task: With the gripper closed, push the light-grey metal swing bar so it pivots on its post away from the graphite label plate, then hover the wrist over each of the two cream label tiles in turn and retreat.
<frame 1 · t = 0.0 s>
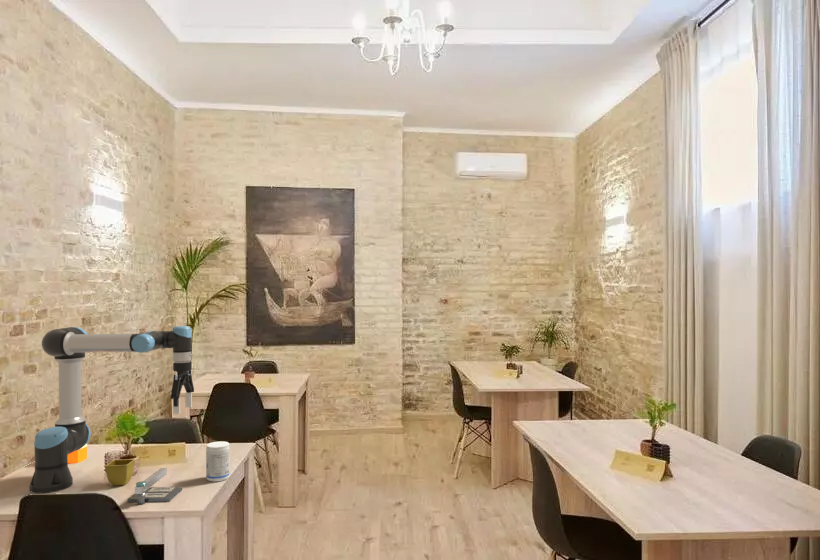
hand: (182, 410, 256), 28 cm above the table, fingers open, 13 cm apart
orange juice: (73, 461, 279), on the table
supplement tub: (218, 479, 251), on the table
label plate: (155, 495, 230), on the table
swing bar: (151, 479, 232), point 6 cm above the table, hinge at 0.0°
pivot post: (141, 503, 222), on the table
flower pot: (120, 484, 245), on the table
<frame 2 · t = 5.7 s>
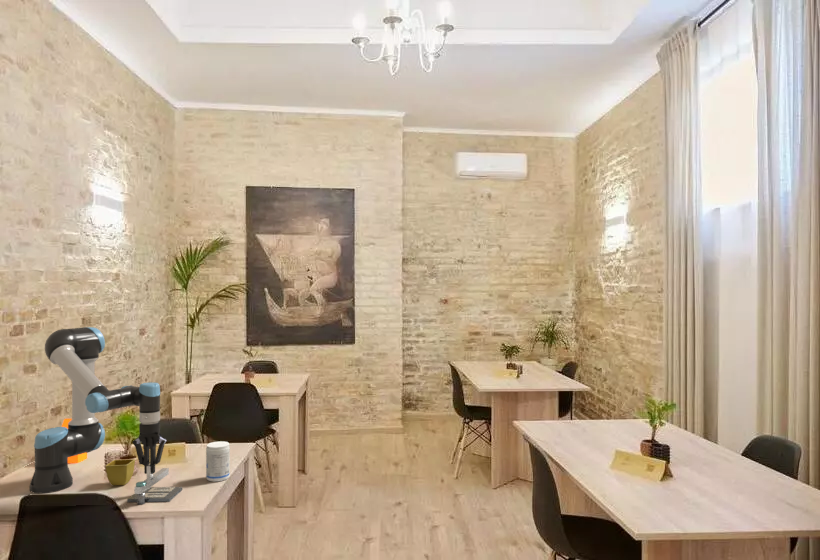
hand: (149, 481, 233), 5 cm above the table, fingers closed
swing bar: (152, 479, 232), point 6 cm above the table, hinge at 2.3°, touching gripper
everything else where it was.
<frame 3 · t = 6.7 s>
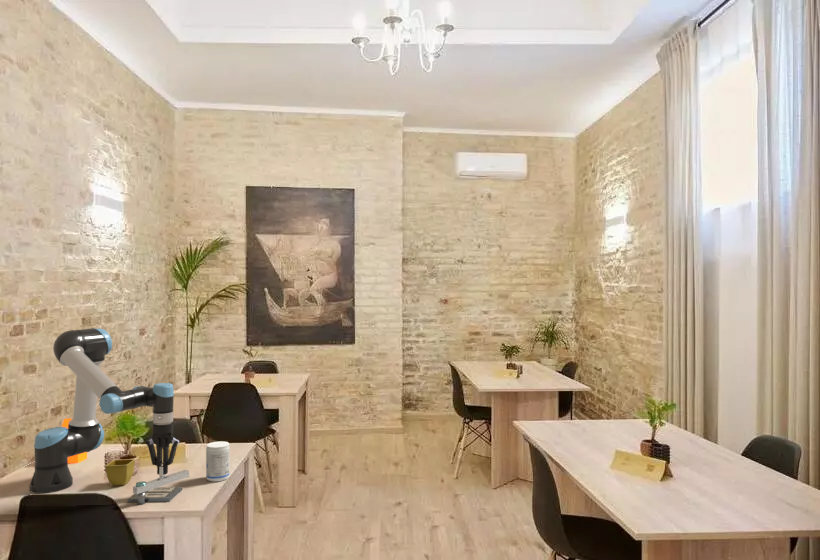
hand: (162, 482, 233), 4 cm above the table, fingers closed
swing bar: (162, 480, 230), point 6 cm above the table, hinge at 31.8°, touching gripper
everything else where it was.
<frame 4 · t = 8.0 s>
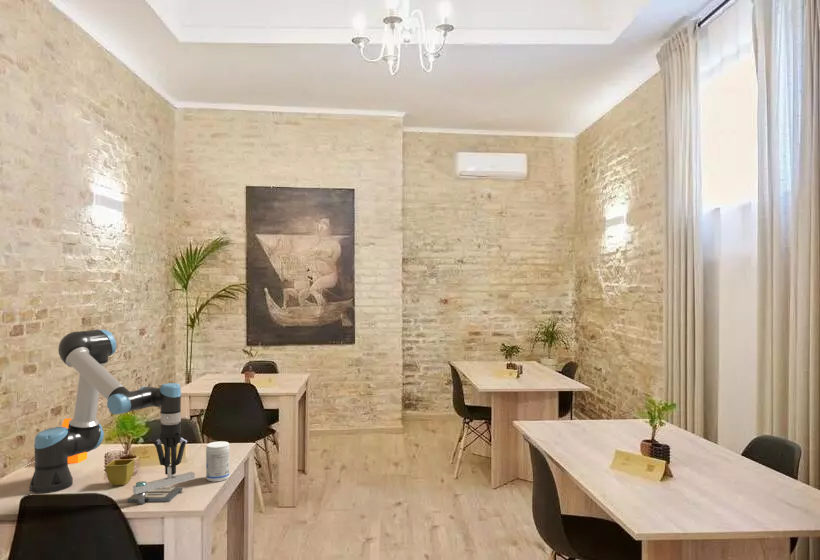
hand: (170, 482, 233), 4 cm above the table, fingers closed
swing bar: (164, 481, 229), point 6 cm above the table, hinge at 44.2°, touching gripper
everything else where it was.
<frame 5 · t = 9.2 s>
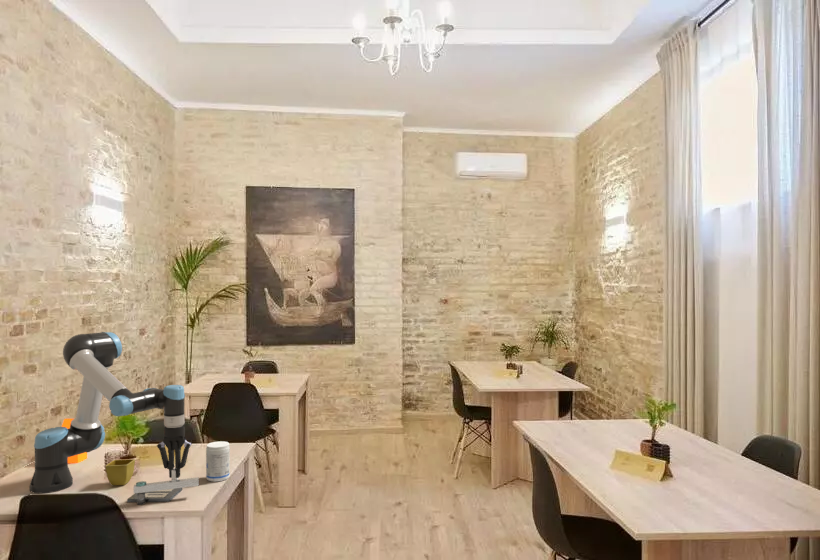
hand: (174, 485, 229), 4 cm above the table, fingers closed
swing bar: (166, 484, 226), point 6 cm above the table, hinge at 70.0°, touching gripper
everything else where it was.
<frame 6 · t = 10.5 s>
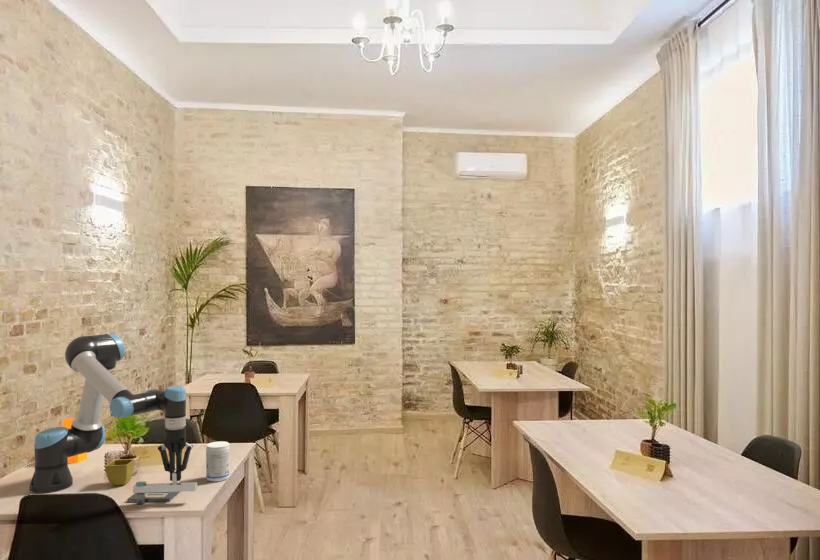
hand: (175, 488, 226), 4 cm above the table, fingers closed
swing bar: (165, 486, 223), point 6 cm above the table, hinge at 87.2°, touching gripper
everything else where it was.
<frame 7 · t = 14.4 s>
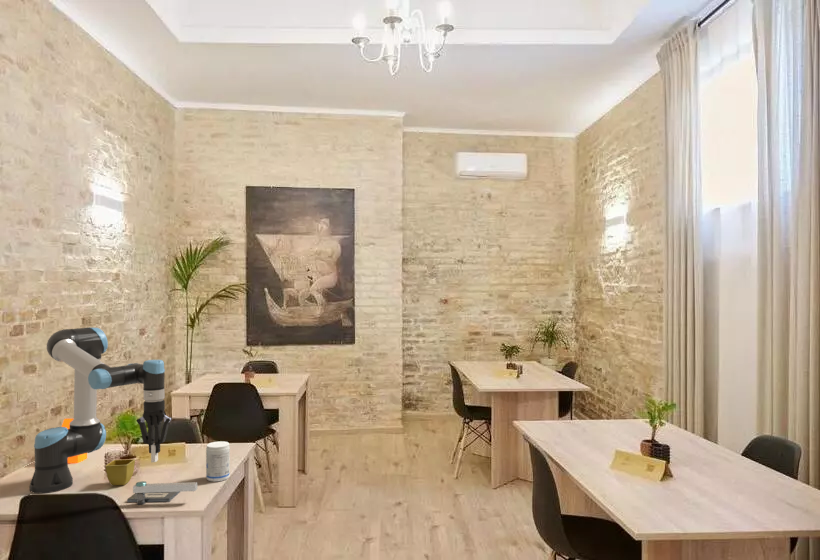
hand: (154, 461, 228), 14 cm above the table, fingers closed
swing bar: (165, 486, 223), point 6 cm above the table, hinge at 87.2°
everything else where it was.
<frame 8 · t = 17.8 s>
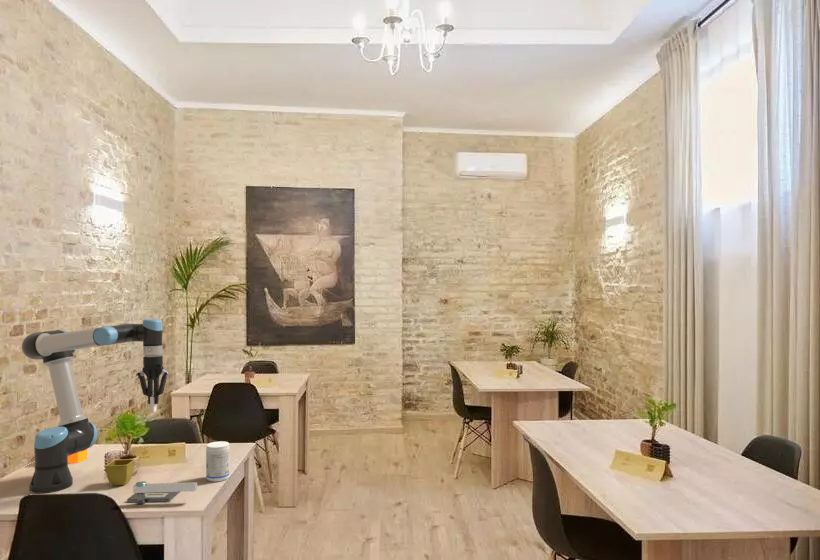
hand: (153, 411, 248), 29 cm above the table, fingers closed
nothing on the table moved.
at the end: swing bar at +87° (first picture: +0°) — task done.
